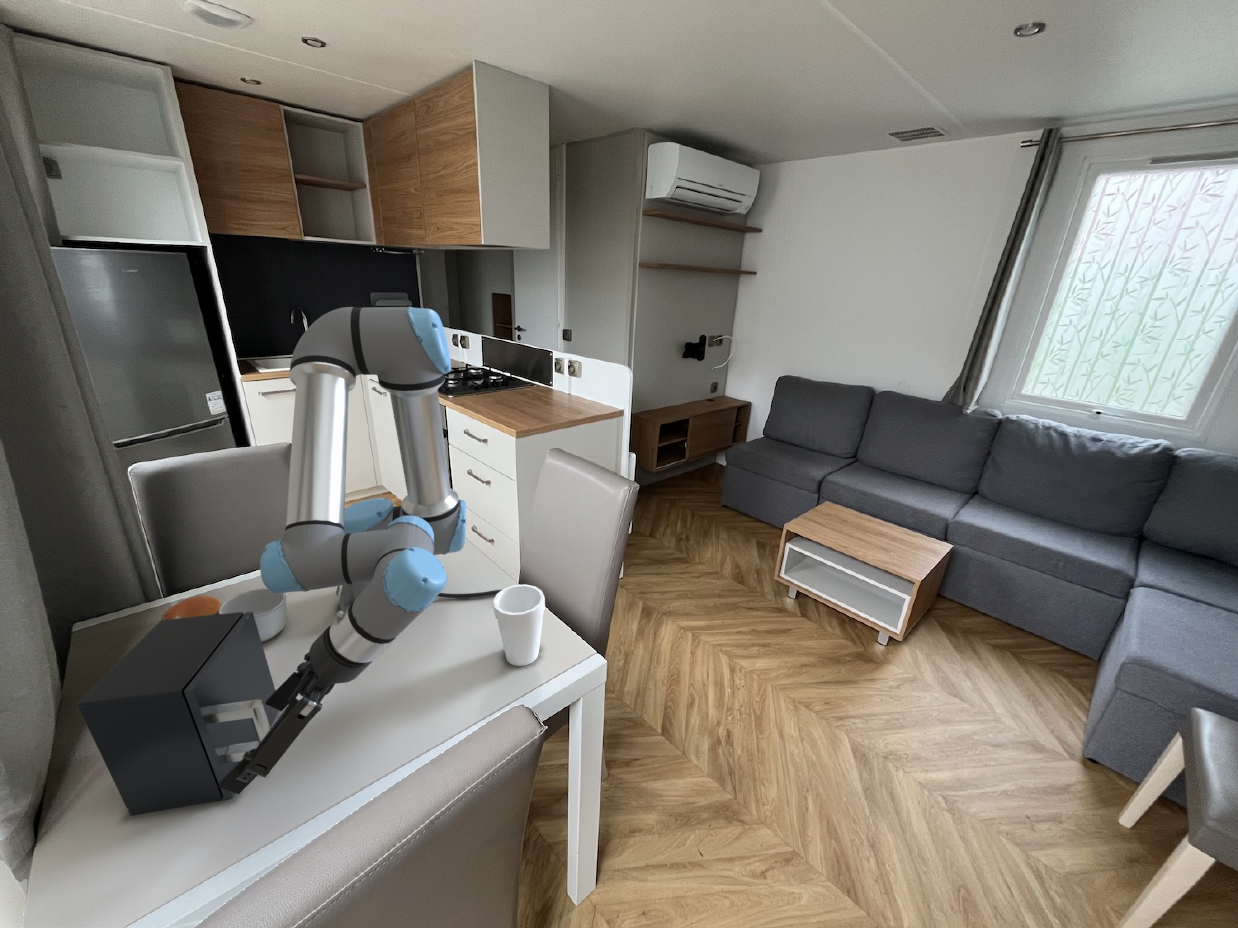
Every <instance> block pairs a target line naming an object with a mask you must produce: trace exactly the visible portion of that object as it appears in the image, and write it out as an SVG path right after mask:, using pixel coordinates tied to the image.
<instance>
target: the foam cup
mask: <svg viewBox="0 0 1238 928" xmlns="http://www.w3.org/2000/svg"><path fill="white" fill-rule="evenodd" d="M501 590H502V591H500V592H499V593H497V594H495V596H494V598H493V600H492V603H493V605H492V606H493V613H494V617H495V620H497V625H498V630H499V634H500V638H501V641H502V646H503V649H504V654H505V658H506V661H507V662H508V663H509V664H510V665H512V666H516V667H523V666H528V665H530V664H532V663H533V662H535V661H536V660H537V659H538V656H539V651H540V644H541V636H542V628H543V619H544V611H545V609H546V598H545V595H544V592H543V590H541V588H539V587H538V586H535V585H529V584H525V583H524V584H513V585H511V586H507V587H505V588H503V589H501Z"/></svg>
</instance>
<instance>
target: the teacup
mask: <svg viewBox="0 0 1238 928" xmlns="http://www.w3.org/2000/svg"><path fill="white" fill-rule="evenodd" d="M221 604H222V605H221V607H220V609H219V614H227V613H237V612H243V613H244V614H245V612H253V615H254V618H255V622H256V625H257V629H258V632H259V636H260V639H261V642H262V643H264V642H267V641H269V640H271V639H272V638H274V637H276V636H277V635H278V634H279V633H280V632H281V631H283V629H284V628H285V627H286V625H287V622H288V617H289V614H288V613H289V612H288V605H287V594H286V592H284V593H274V592H272V591H270V590H269V589H267V588H266V587H259V588H254V589H249V590H246V591H243V592H240V593H238V594H236V595H233V596H232V597H230V598H228V599H227V600H226V601H224V602H223V603H221Z"/></svg>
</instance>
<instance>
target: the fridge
mask: <svg viewBox="0 0 1238 928" xmlns="http://www.w3.org/2000/svg"><path fill="white" fill-rule="evenodd" d="M243 615H244V613H243V612H237V613H227V614H217V615H207V616H197V617H187V618H178V619H168V620H161V619H160V620H159V622H158V623H157V624H156V625H154V627H153V628H151V630H149V632H147V634H145V635H144V636H143V637H142V639H140V640H139V641H138V642H137V643H136V644H135V646H133V648H131V649H130V650H129V651H128V652H127V653H126V654H125V655H124V656H123V657H122V659H120V660H119V661H118V662H117V663H116V664H115V665H114V666H113V667H112V668H111V669H110V670H109V671H108V672H107V673H106V674H104V676H103V677H102V678H101V679H100V680H99V681H98V682H97V683H96V684H95V685H94V686H93V687H91V689H90V690H89V691H88V692H87V693H86V694H85V695H84V696H83V697H82V698H81V699H80V700H79V701H77V703H76V706H77V708H78V710H79V712H80V713H81V716H82V718H83V720H84V723H85V724H86V726H87V728H88V730H89V731H88V732H90V735H91V738H92V739H93V741H94V742H95V745H96V747H97V749H98V751H99V753H100V756H101V758H102V761H103V762H104V764H105V766H106V768H107V770H108V773H109V774H110V776H111V779H112V780H113V783H114V784H115V787H116V789H117V791H118V793H119V795H120V798H121V799H122V801H123V804H124V805H125V808H126V810H127V811H128V813H129V816H130V817H132V816H138V815H144V814H145V815H146V814H149V813H155V812H163V811H167V810H168V811H169V810H174V809H181V808H186V807H192V806H198V805H204V804H209V803H216V802H221V801H223V800H225V799H224V797H223V794H222V791H221V789H220V787H218V785H219V784H218V781H217V778H216V776H215V773H214V770H213V768H212V765H211V762H210V760H209V757H208V754H207V752H206V749H205V746H204V744H203V741H202V738H201V736H200V733H199V730H198V728H197V725H196V722H195V720H194V717H193V714H192V712H191V709H190V706H189V704H188V701H187V698H186V696H185V693H184V690H185V689H186V688H187V687H188V685H189V684H190V683H191V681H192V680H193V679H194V678H195V676H196V675H197V674H198V672H199V671H200V670H201V669H202V667H203V666H204V665H205V664H206V662H207V661H208V660H209V658H210V657H211V656H212V655H213V653H214V652H215V651H216V649H217V648H218V647H219V646H220V644H221V643H222V642H223V640H224V639H225V638H226V637H227V635H228V634H229V633H230V632H231V630H232V629H233V628H234V626H235V625H236V624H237V623H238V621H239V620H240V619H241V617H242V616H243Z"/></svg>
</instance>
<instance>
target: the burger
mask: <svg viewBox="0 0 1238 928" xmlns="http://www.w3.org/2000/svg"><path fill="white" fill-rule="evenodd" d="M222 604H223V603H222V602H221V600H220V599H219V598H216V597H214V596H208V595H198V596H193V597H188V598H186V599H184V600H182V601H180V602H178V603H176V604H174V605H172V606H171V607H169V608H168V609H166V611H164V613H162V615H161V617H160V621H161V620H168V619H178V618H187V617H197V616H207V615H217V614H219V609H220V607H221V605H222Z"/></svg>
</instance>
